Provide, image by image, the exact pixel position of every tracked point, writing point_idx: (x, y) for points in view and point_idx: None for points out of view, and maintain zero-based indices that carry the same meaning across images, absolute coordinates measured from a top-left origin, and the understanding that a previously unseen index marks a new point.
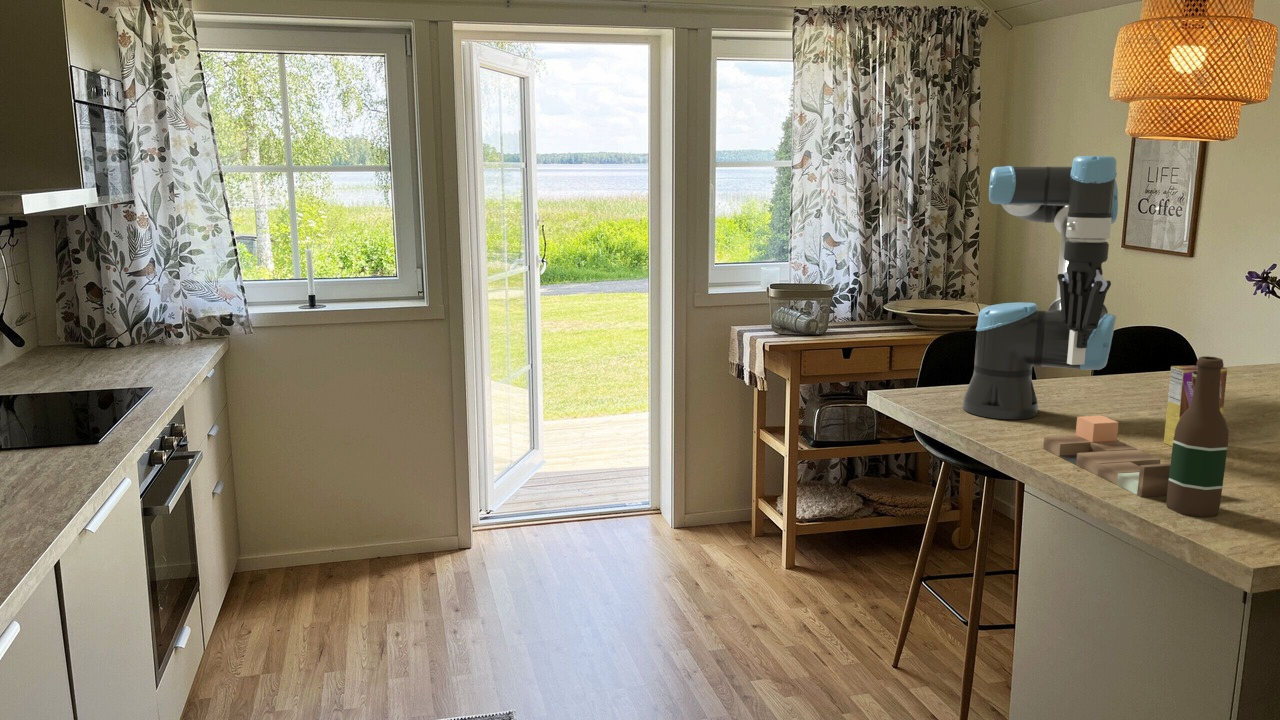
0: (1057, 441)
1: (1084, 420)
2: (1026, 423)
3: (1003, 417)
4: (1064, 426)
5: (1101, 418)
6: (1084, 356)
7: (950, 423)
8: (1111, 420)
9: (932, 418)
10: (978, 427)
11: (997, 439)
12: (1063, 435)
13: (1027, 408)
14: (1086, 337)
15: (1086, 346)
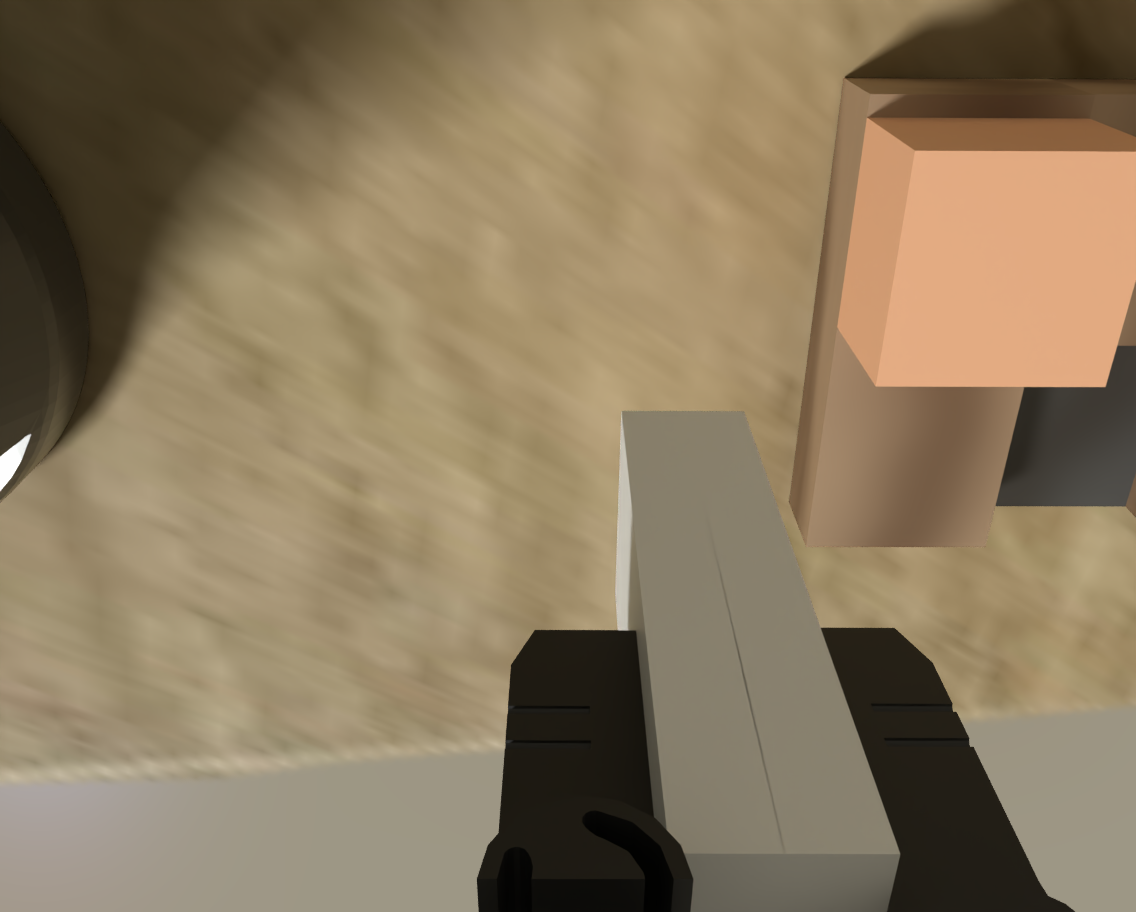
0: (933, 534)
1: (972, 382)
2: (179, 269)
3: (78, 392)
4: (281, 10)
5: (1002, 220)
6: (766, 484)
7: (175, 709)
8: (1095, 174)
9: (59, 748)
10: (274, 612)
11: None
12: (827, 420)
13: (13, 228)
14: (988, 823)
15: (921, 657)
